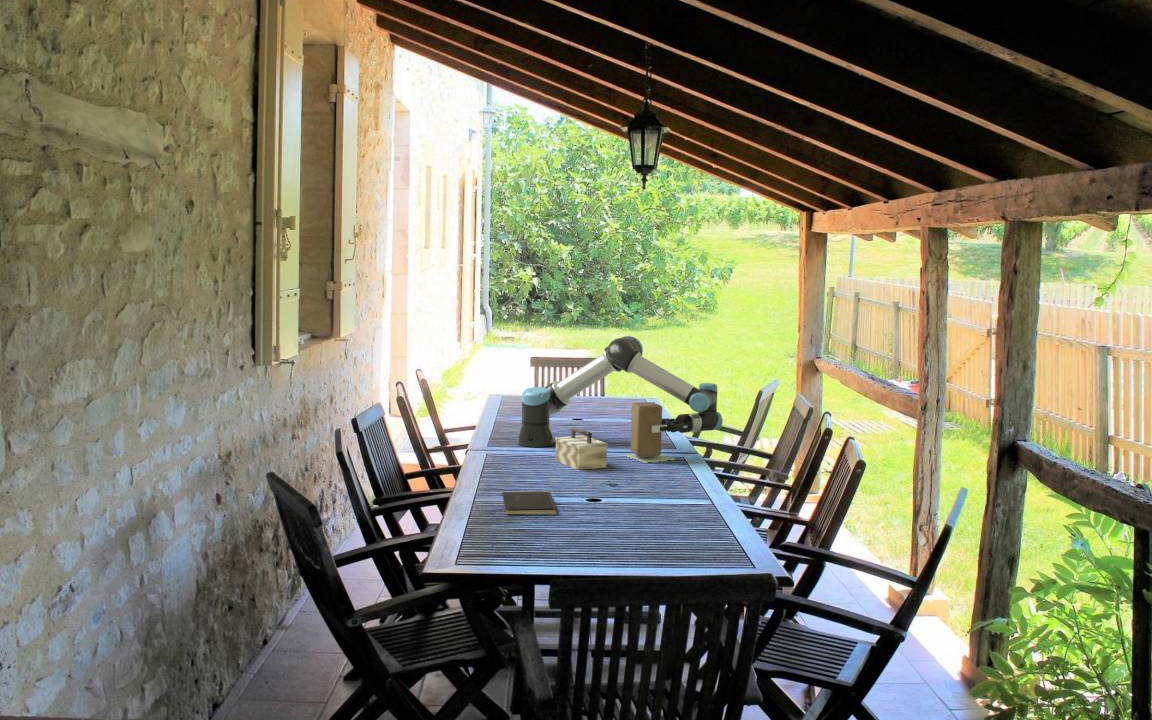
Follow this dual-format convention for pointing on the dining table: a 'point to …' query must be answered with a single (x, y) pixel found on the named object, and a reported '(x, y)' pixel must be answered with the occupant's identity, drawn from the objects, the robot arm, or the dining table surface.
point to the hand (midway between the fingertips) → (643, 426)
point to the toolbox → (581, 451)
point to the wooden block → (645, 428)
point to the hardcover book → (529, 503)
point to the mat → (651, 458)
